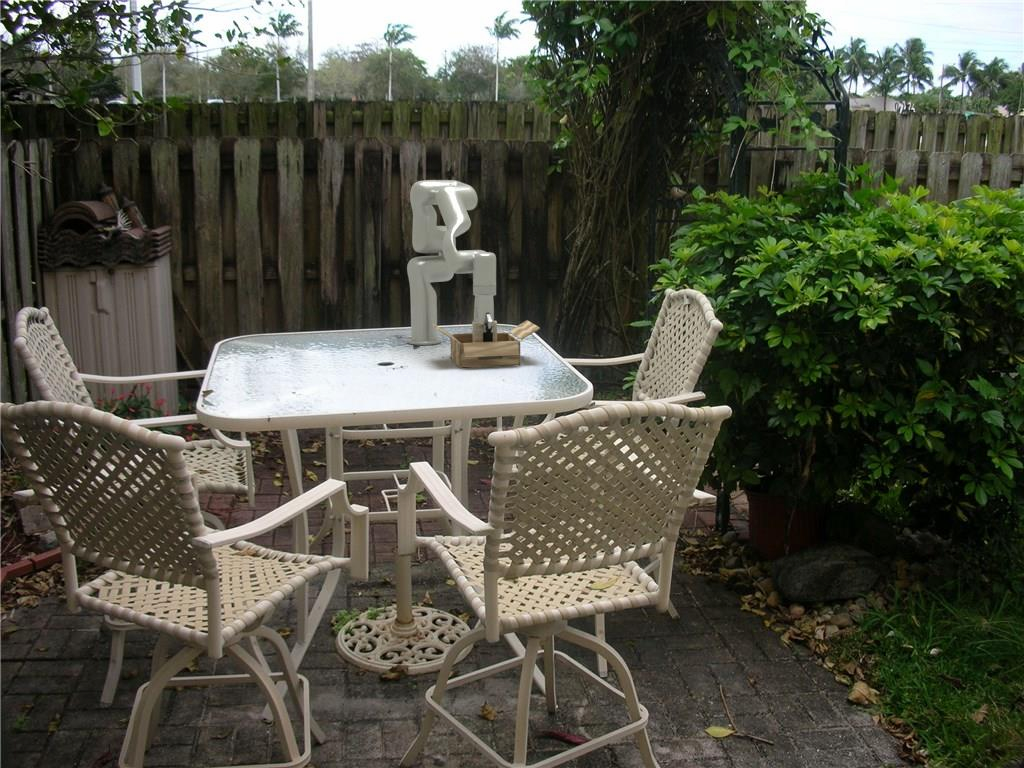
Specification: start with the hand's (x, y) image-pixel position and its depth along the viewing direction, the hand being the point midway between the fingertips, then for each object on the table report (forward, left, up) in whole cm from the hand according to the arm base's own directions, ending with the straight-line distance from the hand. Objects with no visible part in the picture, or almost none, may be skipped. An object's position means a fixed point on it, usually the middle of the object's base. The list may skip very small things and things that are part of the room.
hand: (484, 341), depth 320 cm
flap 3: (+9, 0, +2) cm, 9 cm away
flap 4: (0, +10, +2) cm, 10 cm away
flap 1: (0, -10, +2) cm, 10 cm away
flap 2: (-9, 0, +2) cm, 9 cm away
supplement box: (0, 0, -6) cm, 6 cm away
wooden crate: (0, 0, -7) cm, 7 cm away
